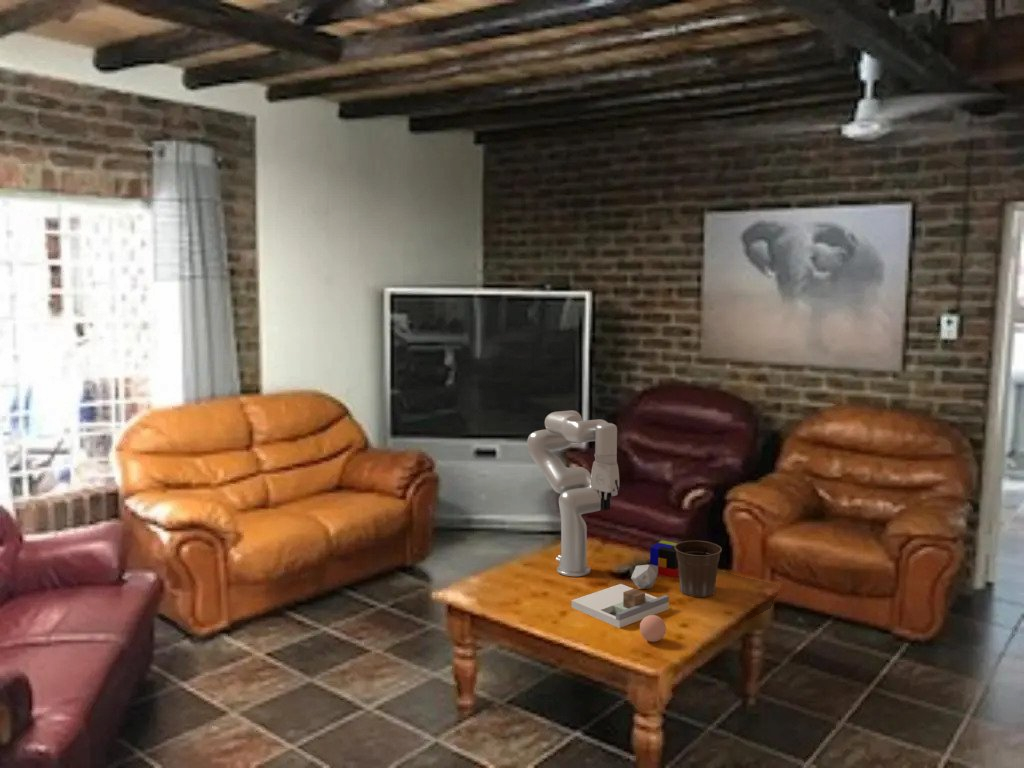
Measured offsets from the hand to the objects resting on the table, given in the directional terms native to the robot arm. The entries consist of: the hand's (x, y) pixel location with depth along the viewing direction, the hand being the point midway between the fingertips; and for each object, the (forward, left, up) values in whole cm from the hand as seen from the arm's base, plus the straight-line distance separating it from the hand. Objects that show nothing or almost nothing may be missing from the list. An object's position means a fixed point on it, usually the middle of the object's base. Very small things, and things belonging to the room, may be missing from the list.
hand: (605, 509), depth 301 cm
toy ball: (+40, -20, -29) cm, 53 cm away
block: (+22, -9, -27) cm, 36 cm away
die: (+8, +12, -29) cm, 33 cm away
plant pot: (+23, +23, -29) cm, 44 cm away
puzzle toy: (+3, +31, -29) cm, 43 cm away
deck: (+16, -9, -29) cm, 34 cm away
